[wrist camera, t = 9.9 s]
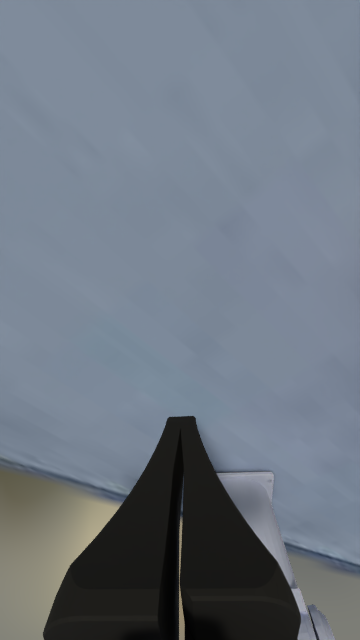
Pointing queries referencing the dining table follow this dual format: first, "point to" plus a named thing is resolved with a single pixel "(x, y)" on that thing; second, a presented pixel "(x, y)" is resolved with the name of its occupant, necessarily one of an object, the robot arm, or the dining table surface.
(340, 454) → the dining table surface
